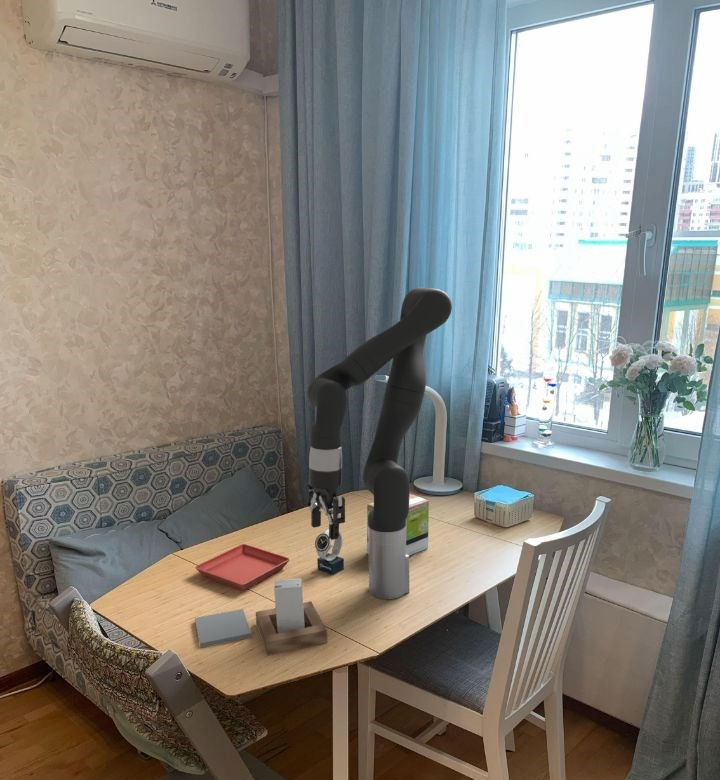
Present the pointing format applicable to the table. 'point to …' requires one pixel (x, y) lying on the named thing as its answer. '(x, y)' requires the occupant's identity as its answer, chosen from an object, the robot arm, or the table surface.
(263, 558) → the plant saucer
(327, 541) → the watch
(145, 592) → the table surface
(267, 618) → the walnut collar
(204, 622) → the slate mat
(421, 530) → the tea box
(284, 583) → the skincare box
